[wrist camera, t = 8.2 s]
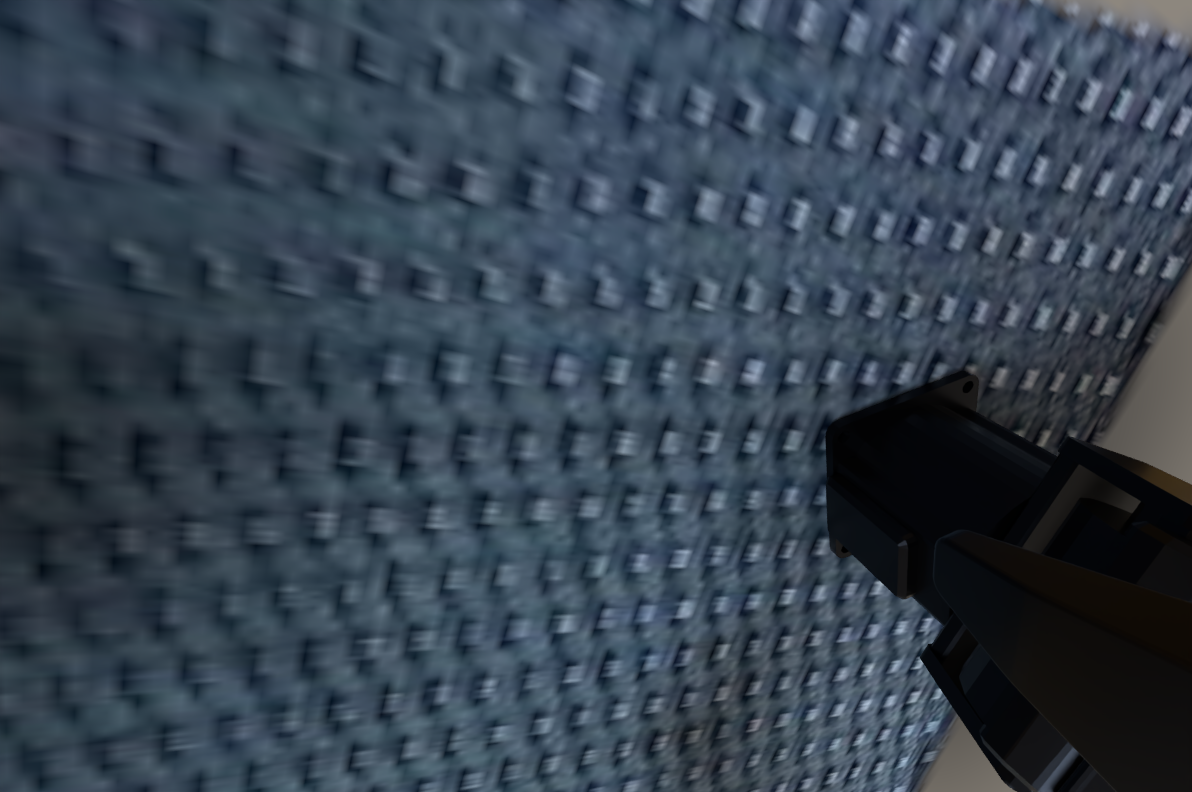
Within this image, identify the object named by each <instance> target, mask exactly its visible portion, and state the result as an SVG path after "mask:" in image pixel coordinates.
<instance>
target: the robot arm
mask: <svg viewBox="0 0 1192 792" xmlns="http://www.w3.org/2000/svg"><path fill="white" fill-rule="evenodd" d="M978 385H979V380H978V378H977V376H975V375H973V374H971V373H969V372H967V371H961V372H958V373H956V374H953V375H951V376H948V377H946V378H943V379H941V380H938V381H936V382H933V383H931V384H928V385H926V386H923V387H920V388H918V389H915V390H913V391H910V392H908V393H905V394H903V395H900V396H898V397H895V398H893V399H890V400H888V401H885V402H883V403H880V404H877V405H875V406H872V407H870V408H867V409H865V410H862V411H860V412H857V413H855V414H852V415H850V416H847V417H845V418H842V419H840V420H837V421H835V422H834V423H832V424H831V425H830V426H829V427H828V429H827V431H826V436H825V437H826V462H827V482H826V499H827V523H828V531H829V538H830V549H831V550H832V551H833V552H834V553H835V554H836V555H837V556H838V557H839V558H845V557H848V556H850V555H853V556H854V557H855V558H856V559H858V560H859V561H860V562H861V563H862V564H863V565H864V566H865V567H866V568H867V569H868V570H869V571H870V572H871V573H872V574H873V575H874V576H875V577H876V578H877V579H878V580H880V581H881V582H882V583H883V584H884V585H885V586H886V587H887V588H888V589H889V590H890V591H891V592H892V593H893V594H894V595H895V596H897V597H899V598H901V599H907V598H909V597H911V596H912V597H913V598H914V599H915V600H916V601H917V602H918V603H919V604H920V605H921V606H923V607H924V608H925V609H926V610H927V611H928V612H929V613H930V614H931V615H932V616H933V617H934V618H935V619H937V620H938V621H939V622H940V623H941V624H942V625H943V626H944V627H943V628H942V630H941V631H940V633H939V634H938V636H937V637H936V639H935V640H934V642H933V643H932V644H928V645H927V647H926V648H925V650H924V651H923V653H922V654H921V656H920V659H921V660H922V662H923V663H924V665H925V666H926V668H927V669H928V671H929V672H930V674H931V675H932V677H933V678H934V680H935V682H936V683H937V685H938V686H939V688H940V689H941V691H942V692H943V694H944V695H945V696H946V698H947V699H948V701H949V702H950V704H951V705H952V707H953V708H954V710H955V711H956V713H957V714H958V716H959V717H960V719H961V720H962V722H963V723H964V725H965V726H966V728H967V729H968V730H969V732H970V733H971V735H972V736H973V738H974V740H975V741H976V742H977V744H978V745H979V747H980V748H981V750H982V751H983V753H984V754H985V756H986V757H987V758H988V760H989V761H990V763H991V764H992V766H993V767H994V769H995V770H996V772H997V773H998V775H999V776H1000V777H1001V779H1002V780H1003V781H1004V783H1005V784H1007V785H1008V786H1009V787H1010V788H1012V789H1013V790H1015V791H1017V792H1192V485H1191V484H1189V483H1187V482H1185V481H1183V480H1181V479H1179V478H1176V477H1174V476H1172V475H1170V474H1168V473H1166V472H1164V471H1162V470H1159V469H1157V468H1155V467H1153V466H1151V465H1149V464H1147V463H1144V462H1141V461H1139V460H1136V459H1133V458H1130V457H1127V456H1125V455H1122V454H1119V453H1116V452H1113V451H1110V450H1107V449H1104V448H1102V447H1099V446H1096V445H1093V444H1090V443H1087V442H1084V441H1081V440H1079V439H1076V438H1073V437H1070V436H1067V437H1066V439H1065V440H1064V442H1063V443H1062V445H1061V446H1060V448H1059V449H1058V452H1060V454H1059V456H1058V457H1057V456H1055V455H1053V454H1052V453H1050V452H1048V451H1046V450H1044V449H1042V448H1041V447H1039V446H1037V445H1035V444H1033V443H1031V442H1030V441H1028V440H1026V439H1024V438H1022V437H1021V436H1019V435H1017V434H1015V433H1013V432H1011V431H1010V430H1008V429H1006V428H1004V427H1002V426H1000V425H999V424H997V423H995V422H993V421H991V420H989V419H988V418H986V417H984V416H982V415H980V414H979V413H977V412H976V407H977V396H978ZM841 433H842V434H841ZM840 434H841V435H840ZM839 435H840V436H839Z"/></svg>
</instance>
